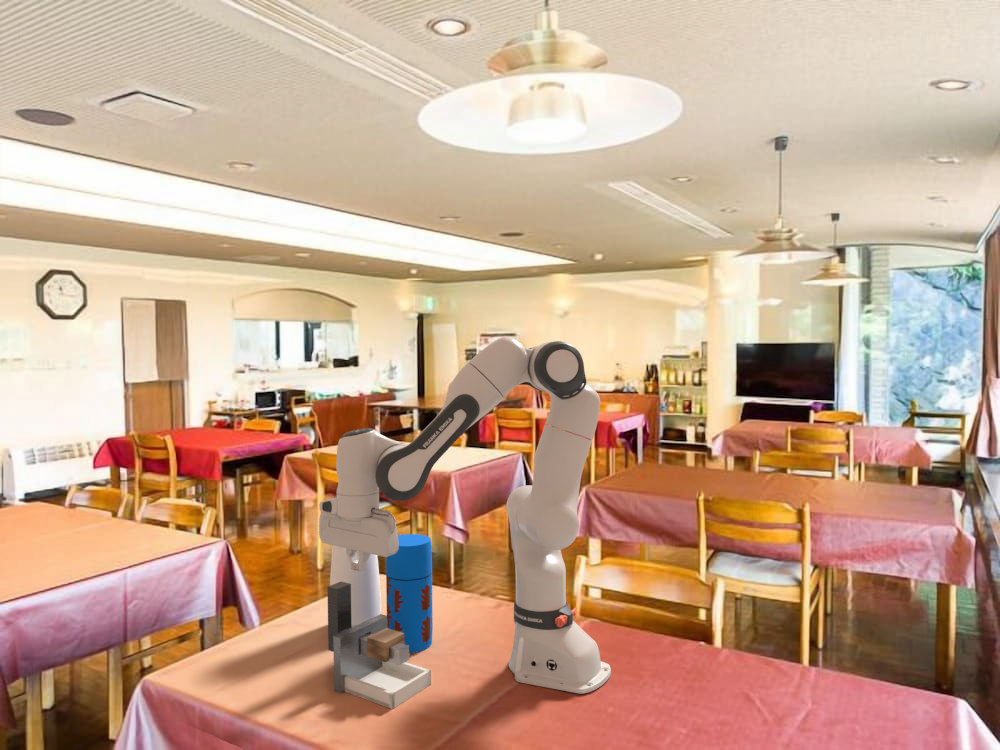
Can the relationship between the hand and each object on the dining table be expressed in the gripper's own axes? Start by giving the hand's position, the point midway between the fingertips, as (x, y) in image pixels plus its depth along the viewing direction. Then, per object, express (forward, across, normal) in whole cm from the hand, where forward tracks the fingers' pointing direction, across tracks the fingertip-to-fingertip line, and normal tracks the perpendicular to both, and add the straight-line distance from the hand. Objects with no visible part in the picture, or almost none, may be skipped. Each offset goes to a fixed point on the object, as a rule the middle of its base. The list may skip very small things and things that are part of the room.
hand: (358, 569), depth 150 cm
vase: (+24, +20, -19) cm, 37 cm away
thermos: (+24, +2, -19) cm, 31 cm away
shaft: (+18, -3, 0) cm, 19 cm away
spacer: (+16, -8, 0) cm, 18 cm away
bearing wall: (+24, -1, 0) cm, 24 cm away
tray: (+23, -8, 0) cm, 25 cm away
